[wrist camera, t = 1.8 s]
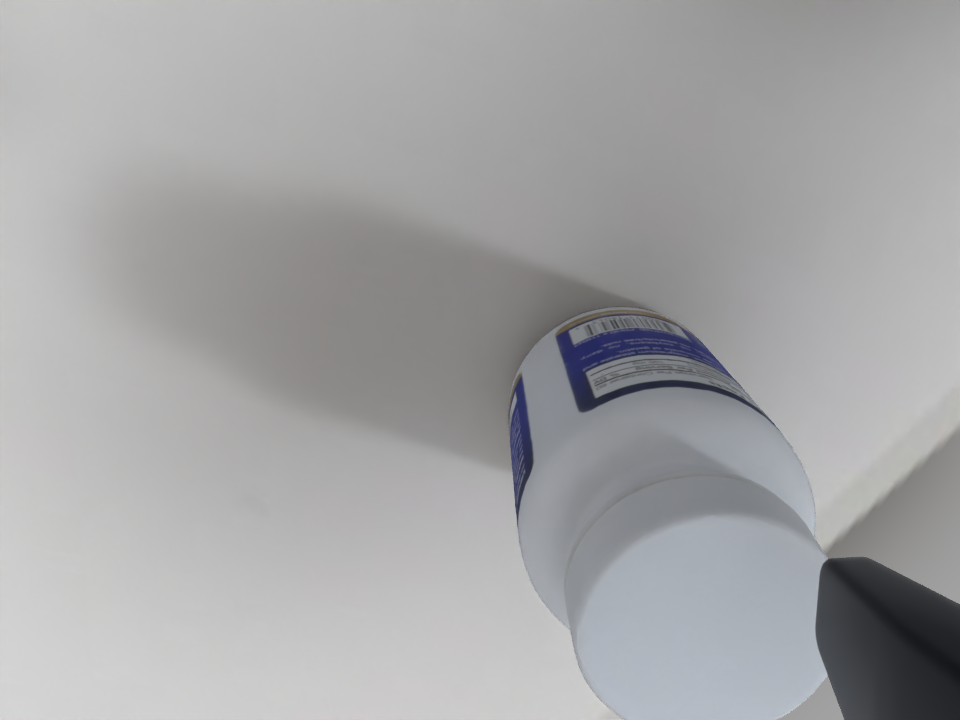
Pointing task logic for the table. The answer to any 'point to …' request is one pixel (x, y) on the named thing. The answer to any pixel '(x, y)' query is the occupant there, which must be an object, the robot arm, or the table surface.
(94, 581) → the table surface
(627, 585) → the pill bottle
